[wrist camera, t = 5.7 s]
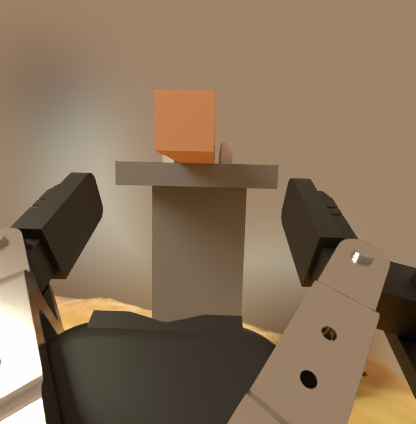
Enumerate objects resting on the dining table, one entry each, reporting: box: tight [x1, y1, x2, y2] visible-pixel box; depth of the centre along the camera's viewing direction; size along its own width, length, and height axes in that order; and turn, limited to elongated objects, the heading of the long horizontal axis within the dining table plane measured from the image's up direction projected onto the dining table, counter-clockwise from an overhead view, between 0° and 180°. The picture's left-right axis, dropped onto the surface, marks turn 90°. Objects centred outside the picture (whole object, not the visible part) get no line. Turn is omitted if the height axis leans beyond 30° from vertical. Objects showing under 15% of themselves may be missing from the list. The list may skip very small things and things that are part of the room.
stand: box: [115, 142, 278, 322], centre depth 32 cm, size 18×17×34 cm
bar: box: [155, 89, 215, 164], centre depth 24 cm, size 22×3×3 cm, turn 178°
